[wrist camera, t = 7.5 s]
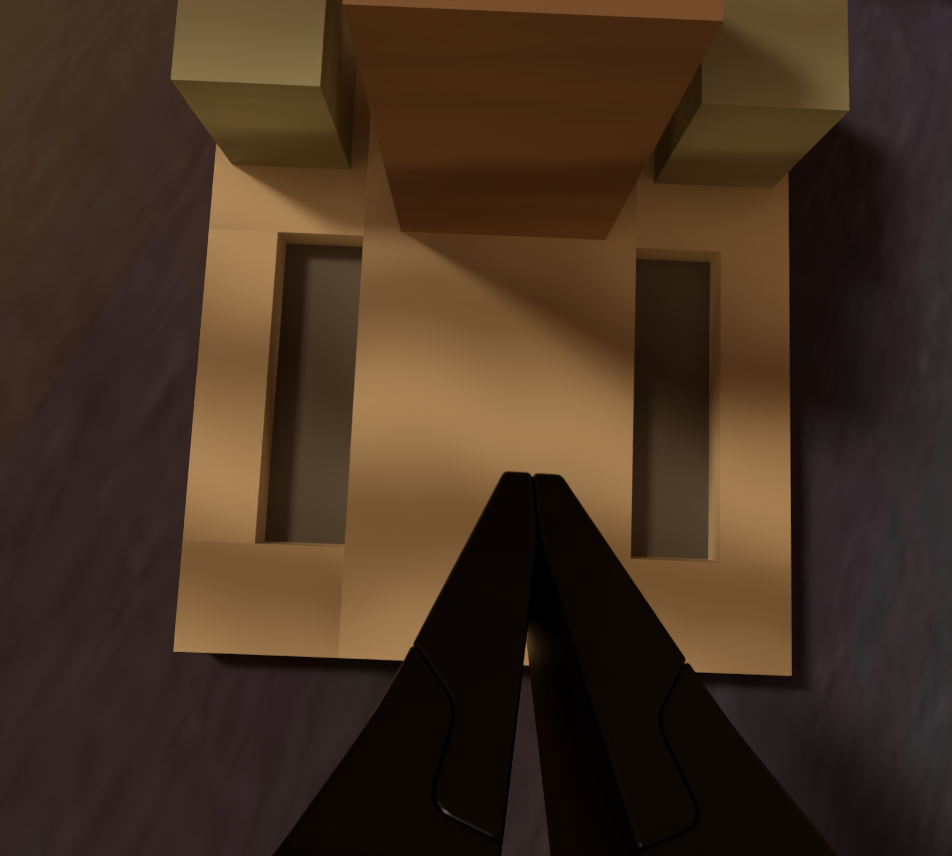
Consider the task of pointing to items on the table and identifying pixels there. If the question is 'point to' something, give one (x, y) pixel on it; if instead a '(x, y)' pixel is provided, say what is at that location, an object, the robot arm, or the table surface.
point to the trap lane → (489, 350)
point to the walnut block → (523, 105)
